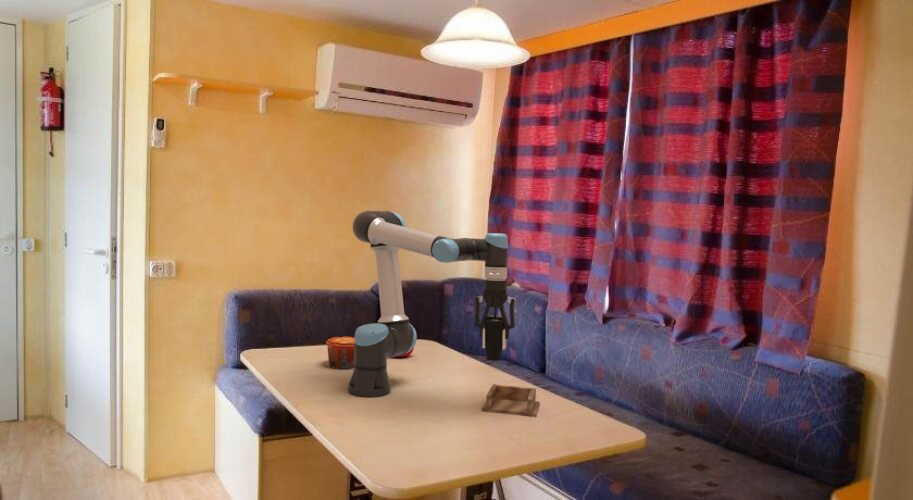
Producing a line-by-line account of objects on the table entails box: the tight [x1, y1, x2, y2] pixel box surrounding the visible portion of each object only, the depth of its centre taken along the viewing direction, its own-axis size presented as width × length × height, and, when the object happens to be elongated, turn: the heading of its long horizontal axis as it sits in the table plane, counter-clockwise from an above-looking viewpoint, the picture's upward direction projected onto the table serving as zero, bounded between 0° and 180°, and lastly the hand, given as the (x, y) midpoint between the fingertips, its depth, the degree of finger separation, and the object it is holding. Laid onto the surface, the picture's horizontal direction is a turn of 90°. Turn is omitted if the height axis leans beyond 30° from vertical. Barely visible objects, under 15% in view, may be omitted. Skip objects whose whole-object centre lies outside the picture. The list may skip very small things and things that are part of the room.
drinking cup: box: [484, 307, 505, 362], centre depth 218 cm, size 8×8×20 cm
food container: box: [325, 336, 355, 370], centre depth 267 cm, size 16×16×11 cm
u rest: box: [480, 383, 541, 417], centre depth 219 cm, size 18×14×6 cm
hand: (494, 347), depth 218 cm, fingers closed on drinking cup, 6 cm apart
